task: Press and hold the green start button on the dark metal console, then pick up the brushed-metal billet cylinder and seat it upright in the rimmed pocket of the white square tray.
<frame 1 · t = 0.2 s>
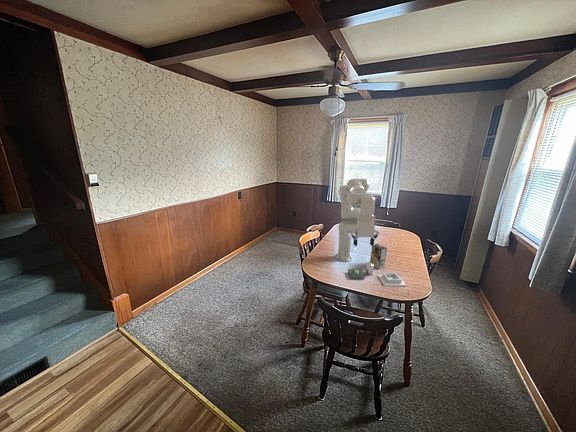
hand: (363, 245, 134), 31 cm above the table, fingers open, 9 cm apart
button: (356, 273, 159), point 2 cm above the table, slide at 1.2 cm
console: (356, 275, 159), on the table
coffee box: (377, 266, 173), on the table
white square tray: (391, 281, 153), on the table
billet: (369, 274, 162), on the table
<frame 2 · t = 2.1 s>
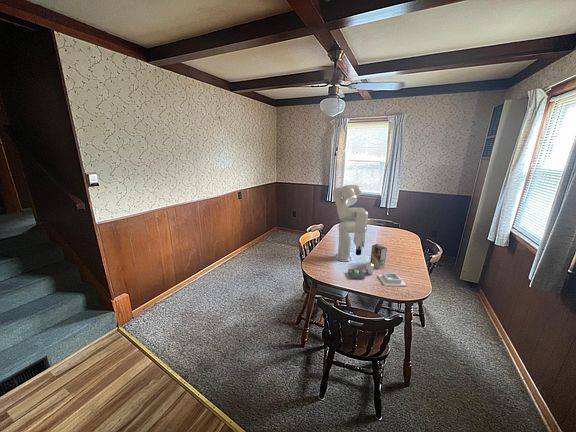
hand: (358, 254, 154), 17 cm above the table, fingers closed
nothing on the table moved.
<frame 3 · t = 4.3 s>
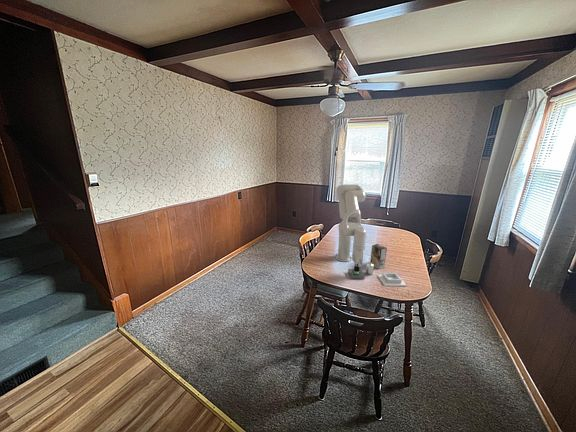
hand: (356, 271, 158), 4 cm above the table, fingers closed
nothing on the table moved.
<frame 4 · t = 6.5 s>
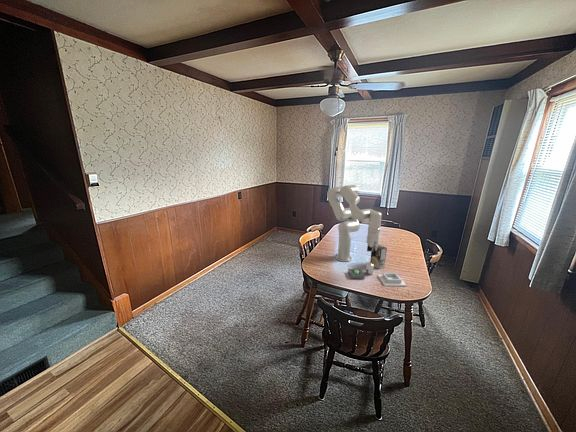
hand: (371, 253, 157), 16 cm above the table, fingers open, 7 cm apart
nothing on the table moved.
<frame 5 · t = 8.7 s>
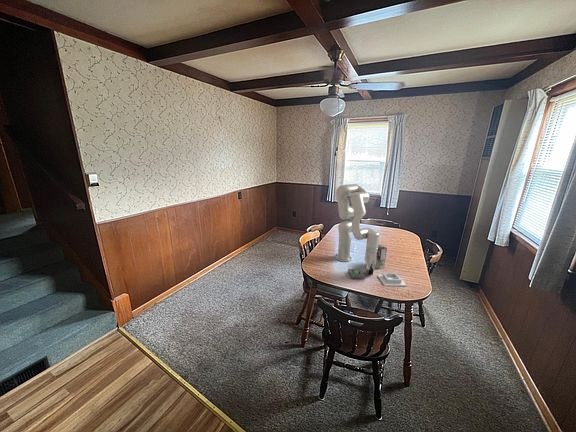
hand: (369, 272, 161), 1 cm above the table, fingers closed on billet, 5 cm apart
billet: (369, 274, 162), on the table, touching gripper
everything else where it was.
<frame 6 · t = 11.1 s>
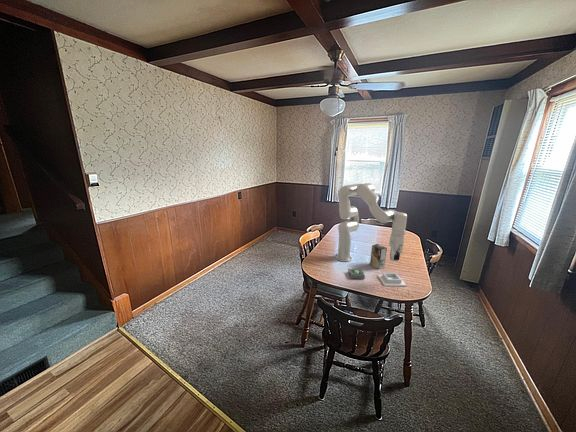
hand: (394, 257, 148), 17 cm above the table, fingers closed on billet, 5 cm apart
billet: (394, 259, 149), point 16 cm above the table, touching gripper
everything else where it was.
when the fingers open (4 cm above the table, at t = 13.9 s): billet drops 1 cm, resting on white square tray.
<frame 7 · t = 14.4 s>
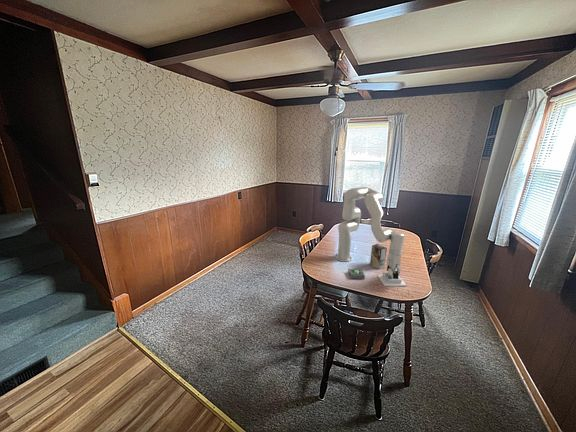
hand: (392, 274, 152), 5 cm above the table, fingers open, 9 cm apart
billet: (391, 279, 153), point 1 cm above the table, touching white square tray
everything else where it was.
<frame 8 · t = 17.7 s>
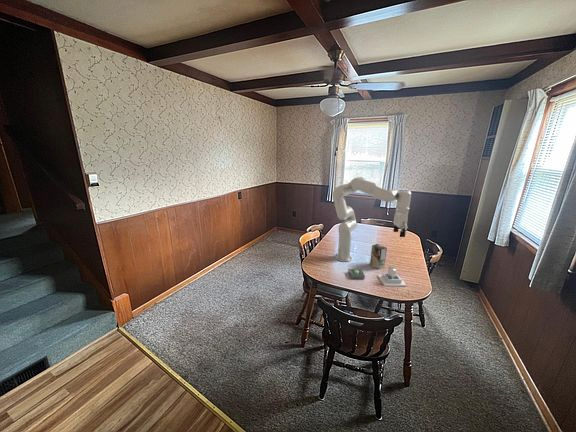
hand: (398, 234, 153), 30 cm above the table, fingers open, 9 cm apart
nothing on the table moved.
at the end: billet 0.1 cm off-centre on the white square tray, point 1.2 cm above the white square tray's base; billet tilted 0°; the gripper is holding nothing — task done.
